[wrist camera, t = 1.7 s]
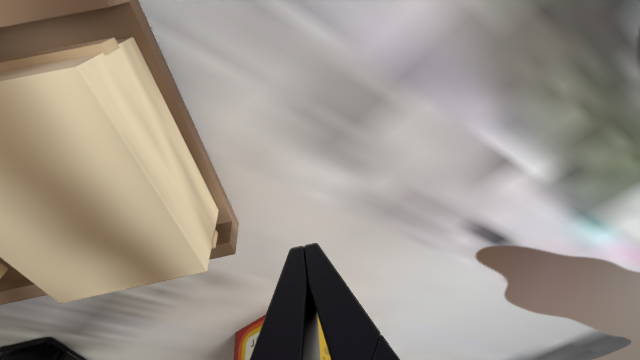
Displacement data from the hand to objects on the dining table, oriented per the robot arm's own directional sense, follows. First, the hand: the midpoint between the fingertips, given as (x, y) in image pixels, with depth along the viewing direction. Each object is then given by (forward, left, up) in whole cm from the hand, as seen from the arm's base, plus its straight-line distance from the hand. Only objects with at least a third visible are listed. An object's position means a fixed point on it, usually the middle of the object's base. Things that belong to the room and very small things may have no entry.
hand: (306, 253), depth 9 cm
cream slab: (-10, 0, -10) cm, 14 cm away
